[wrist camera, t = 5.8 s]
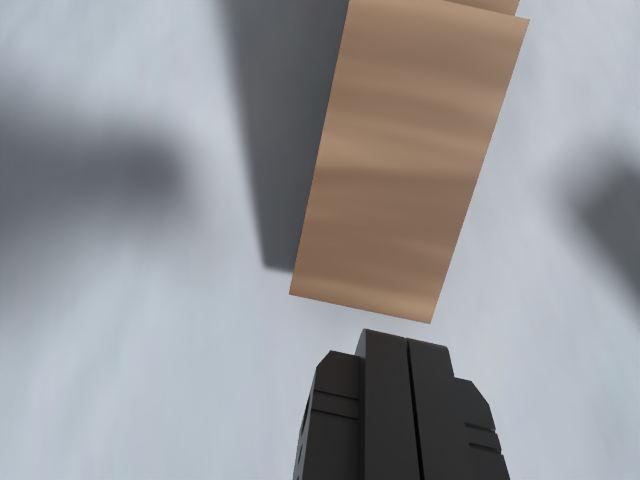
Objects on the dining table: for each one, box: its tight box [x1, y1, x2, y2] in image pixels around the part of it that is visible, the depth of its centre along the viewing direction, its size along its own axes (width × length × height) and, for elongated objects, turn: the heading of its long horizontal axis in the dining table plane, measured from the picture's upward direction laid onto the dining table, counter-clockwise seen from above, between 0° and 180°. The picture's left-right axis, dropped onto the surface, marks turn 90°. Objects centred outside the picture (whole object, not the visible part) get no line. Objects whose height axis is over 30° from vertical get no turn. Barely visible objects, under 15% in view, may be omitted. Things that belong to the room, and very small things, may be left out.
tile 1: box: [289, 0, 530, 324], centre depth 18 cm, size 2×5×10 cm
